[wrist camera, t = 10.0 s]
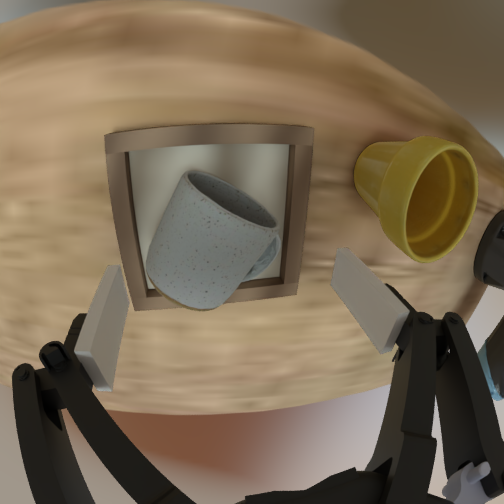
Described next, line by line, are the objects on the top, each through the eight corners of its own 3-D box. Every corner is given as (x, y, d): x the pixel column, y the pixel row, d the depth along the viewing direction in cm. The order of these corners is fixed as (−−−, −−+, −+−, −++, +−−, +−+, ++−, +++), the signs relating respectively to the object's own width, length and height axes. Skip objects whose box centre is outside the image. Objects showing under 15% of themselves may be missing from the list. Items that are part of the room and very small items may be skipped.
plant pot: (388, 230, 29) (445, 274, 21) (320, 202, 26) (380, 249, 17) (423, 152, 25) (490, 178, 17) (360, 106, 22) (438, 115, 13)
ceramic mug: (144, 247, 23) (134, 303, 16) (184, 161, 20) (185, 186, 13) (247, 285, 27) (270, 341, 21) (292, 214, 25) (333, 257, 18)
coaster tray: (303, 126, 22) (314, 127, 20) (289, 282, 29) (296, 294, 27) (111, 133, 18) (104, 135, 16) (137, 297, 26) (134, 311, 24)
